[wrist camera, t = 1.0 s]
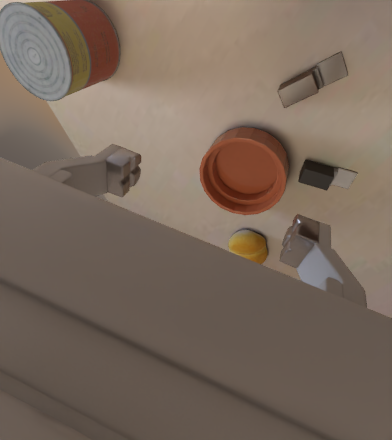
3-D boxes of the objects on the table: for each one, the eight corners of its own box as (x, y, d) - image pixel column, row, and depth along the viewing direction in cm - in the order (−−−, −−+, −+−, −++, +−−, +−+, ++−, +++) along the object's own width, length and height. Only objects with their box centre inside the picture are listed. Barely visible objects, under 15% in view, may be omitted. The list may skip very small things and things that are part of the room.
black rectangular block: (299, 173, 46) (297, 183, 44) (306, 157, 44) (305, 167, 42) (347, 188, 45) (349, 198, 43) (357, 172, 43) (359, 182, 41)
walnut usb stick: (287, 102, 40) (285, 109, 38) (279, 83, 39) (276, 89, 37) (347, 74, 36) (349, 80, 34) (341, 51, 35) (342, 55, 32)
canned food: (59, -16, 41) (-11, -17, 33) (125, 20, 41) (72, 29, 32) (59, 62, 49) (2, 78, 40) (115, 92, 49) (69, 115, 40)
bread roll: (264, 227, 56) (261, 240, 53) (270, 259, 61) (267, 272, 58) (225, 227, 60) (220, 240, 57) (234, 257, 64) (229, 270, 62)
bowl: (197, 137, 49) (187, 149, 45) (279, 115, 42) (275, 127, 38) (222, 203, 56) (215, 218, 52) (295, 194, 49) (293, 210, 45)
